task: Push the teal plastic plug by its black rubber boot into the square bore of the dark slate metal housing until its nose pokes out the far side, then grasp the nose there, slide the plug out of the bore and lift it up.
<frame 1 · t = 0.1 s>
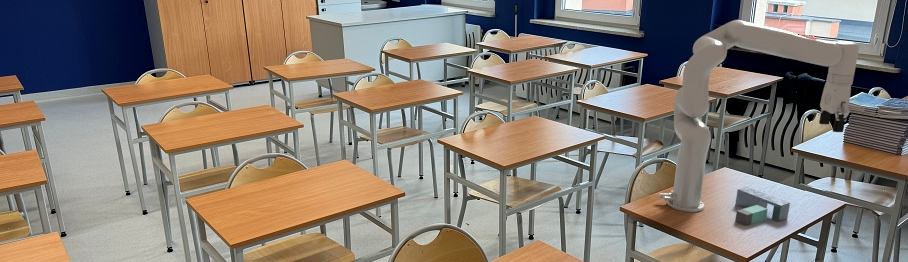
hand: (830, 127, 221), 31 cm above the table, fingers open, 9 cm apart
housing: (768, 214, 226), on the table
plug: (750, 220, 221), on the table
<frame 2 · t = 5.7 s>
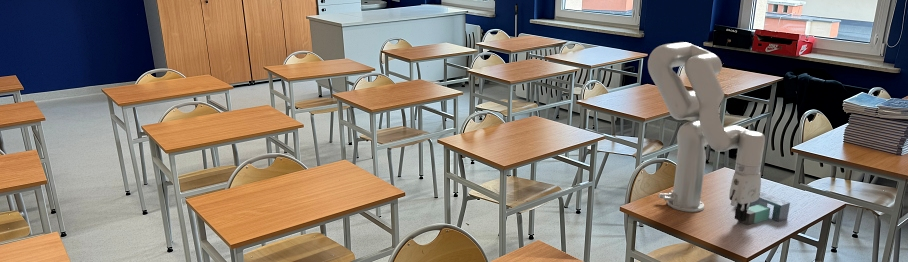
hand: (739, 219, 218), 2 cm above the table, fingers closed
plug: (753, 219, 222), on the table, touching gripper
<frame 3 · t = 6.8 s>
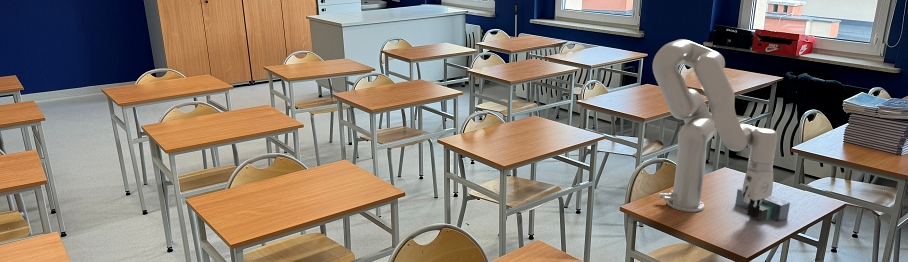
hand: (752, 216, 221), 2 cm above the table, fingers closed
plug: (764, 216, 225), on the table, touching gripper
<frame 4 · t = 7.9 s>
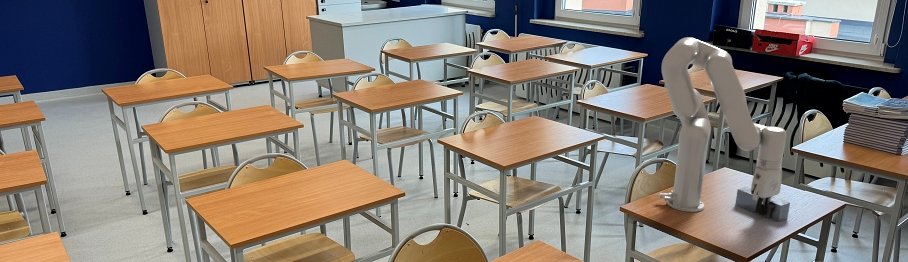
hand: (760, 213, 223), 2 cm above the table, fingers closed
plug: (772, 213, 228), on the table, touching gripper
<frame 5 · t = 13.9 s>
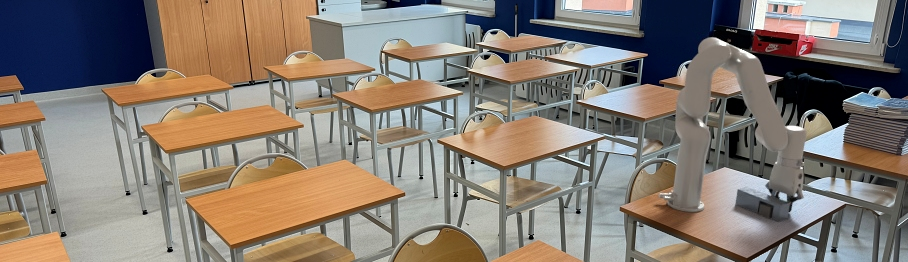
hand: (780, 209, 229), 1 cm above the table, fingers closed on plug, 4 cm apart
plug: (773, 213, 228), on the table, touching gripper
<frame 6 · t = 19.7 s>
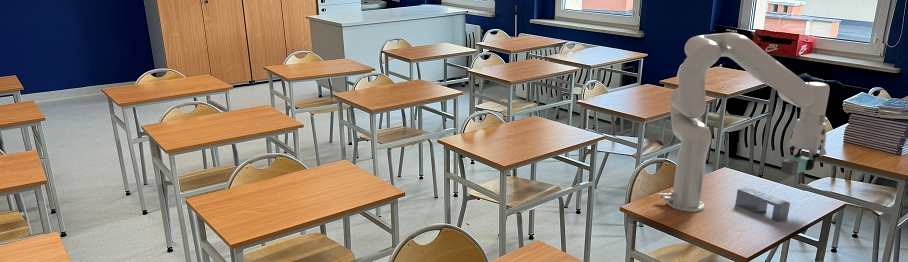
hand: (802, 167, 230), 15 cm above the table, fingers closed on plug, 4 cm apart
plug: (795, 170, 228), point 15 cm above the table, touching gripper
at the end: the gripper is holding plug; plug point 14.6 cm above the table; plug inside the target area on the housing (0.8 cm from its centre), point 14.6 cm above the housing's base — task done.
